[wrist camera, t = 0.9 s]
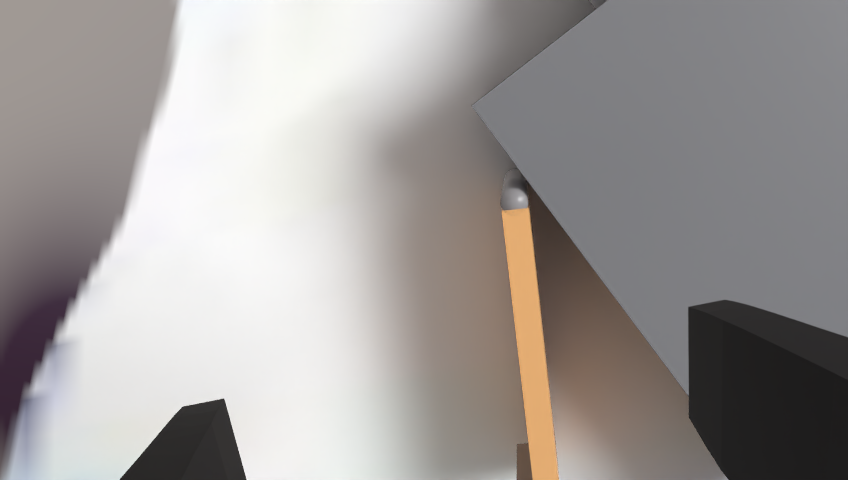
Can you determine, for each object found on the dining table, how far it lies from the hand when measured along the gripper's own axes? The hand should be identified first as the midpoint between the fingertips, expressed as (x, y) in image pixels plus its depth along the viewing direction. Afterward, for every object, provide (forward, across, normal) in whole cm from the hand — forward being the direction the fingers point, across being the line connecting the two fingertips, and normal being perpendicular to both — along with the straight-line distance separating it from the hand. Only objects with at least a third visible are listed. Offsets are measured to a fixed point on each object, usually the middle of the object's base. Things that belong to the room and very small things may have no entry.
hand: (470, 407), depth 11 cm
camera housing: (+13, -12, +3) cm, 18 cm away
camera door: (+14, -4, +7) cm, 16 cm away
